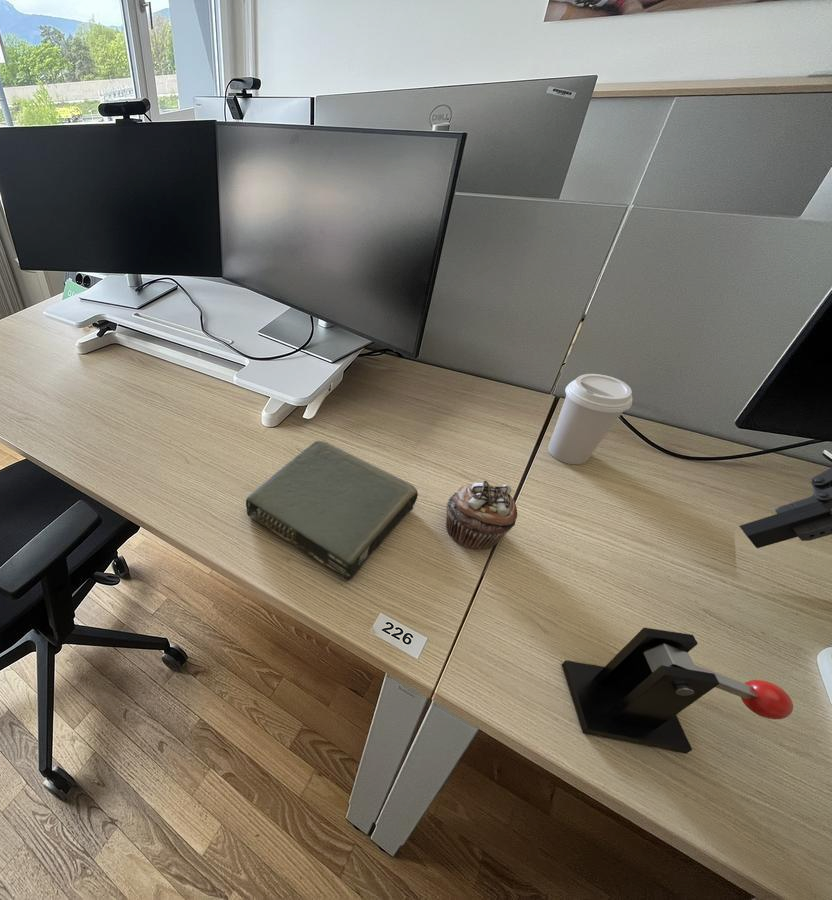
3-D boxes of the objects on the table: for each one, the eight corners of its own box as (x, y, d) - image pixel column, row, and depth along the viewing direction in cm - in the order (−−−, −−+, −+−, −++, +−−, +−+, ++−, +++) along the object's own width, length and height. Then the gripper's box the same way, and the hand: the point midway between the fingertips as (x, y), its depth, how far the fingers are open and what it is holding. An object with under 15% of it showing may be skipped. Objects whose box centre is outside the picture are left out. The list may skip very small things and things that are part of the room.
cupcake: (498, 512, 78) (518, 469, 71) (510, 559, 70) (533, 515, 64) (437, 505, 80) (451, 462, 73) (443, 549, 73) (458, 506, 66)
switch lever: (752, 693, 50) (788, 681, 48) (773, 728, 47) (813, 718, 45) (634, 647, 50) (665, 634, 47) (649, 681, 47) (683, 668, 45)
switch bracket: (653, 680, 56) (717, 625, 48) (686, 754, 50) (766, 706, 42) (561, 664, 58) (607, 609, 50) (582, 733, 52) (639, 684, 44)
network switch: (236, 526, 79) (234, 506, 76) (305, 451, 93) (305, 431, 90) (363, 594, 68) (367, 573, 64) (420, 497, 81) (426, 476, 78)
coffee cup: (528, 440, 91) (557, 374, 81) (574, 434, 91) (609, 368, 82) (559, 473, 84) (596, 405, 74) (610, 466, 84) (653, 398, 74)
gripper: (1230, 509, 35) (802, 604, 48) (1037, 408, 44) (726, 512, 58) (1223, 451, 32) (775, 568, 46) (1020, 358, 42) (700, 479, 56)
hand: (748, 537), depth 52 cm, fingers closed
